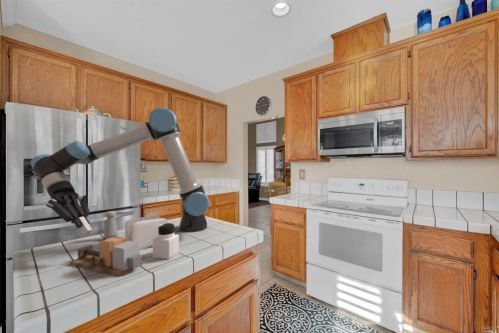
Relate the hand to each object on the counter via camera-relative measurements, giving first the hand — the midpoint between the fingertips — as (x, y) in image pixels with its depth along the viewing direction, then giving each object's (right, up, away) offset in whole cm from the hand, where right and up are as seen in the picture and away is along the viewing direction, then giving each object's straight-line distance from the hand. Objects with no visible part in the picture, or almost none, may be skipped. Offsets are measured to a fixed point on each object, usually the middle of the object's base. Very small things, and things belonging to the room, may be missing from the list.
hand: (88, 232), depth 78 cm
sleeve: (+12, -9, -4) cm, 15 cm away
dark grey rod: (+6, -8, -2) cm, 11 cm away
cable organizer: (+14, -11, +16) cm, 24 cm away
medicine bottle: (+27, -11, +5) cm, 29 cm away
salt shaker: (-8, -11, +24) cm, 28 cm away
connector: (+19, -9, -7) cm, 22 cm away
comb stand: (+9, -10, -3) cm, 14 cm away
